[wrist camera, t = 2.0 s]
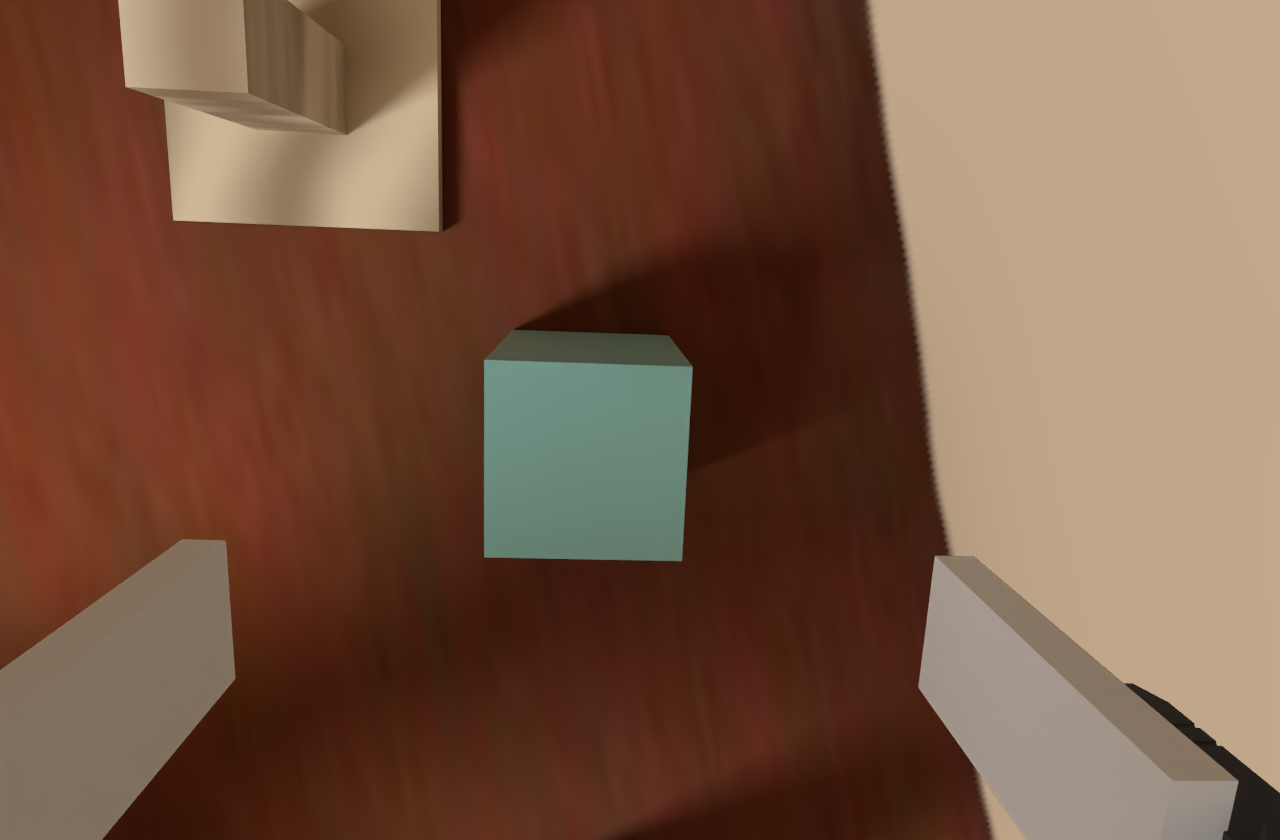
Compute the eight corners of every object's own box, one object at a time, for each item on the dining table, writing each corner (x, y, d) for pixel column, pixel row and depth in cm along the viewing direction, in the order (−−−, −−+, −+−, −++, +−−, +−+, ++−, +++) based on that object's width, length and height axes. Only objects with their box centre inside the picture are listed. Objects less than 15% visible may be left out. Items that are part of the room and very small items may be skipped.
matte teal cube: (511, 479, 35) (484, 557, 26) (512, 329, 34) (484, 359, 25) (661, 483, 35) (682, 561, 27) (668, 335, 34) (692, 366, 25)
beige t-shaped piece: (183, 220, 32) (8, 211, 23) (162, -61, 30) (-40, -203, 20) (442, 231, 33) (379, 227, 23) (440, -44, 31) (369, -173, 21)
